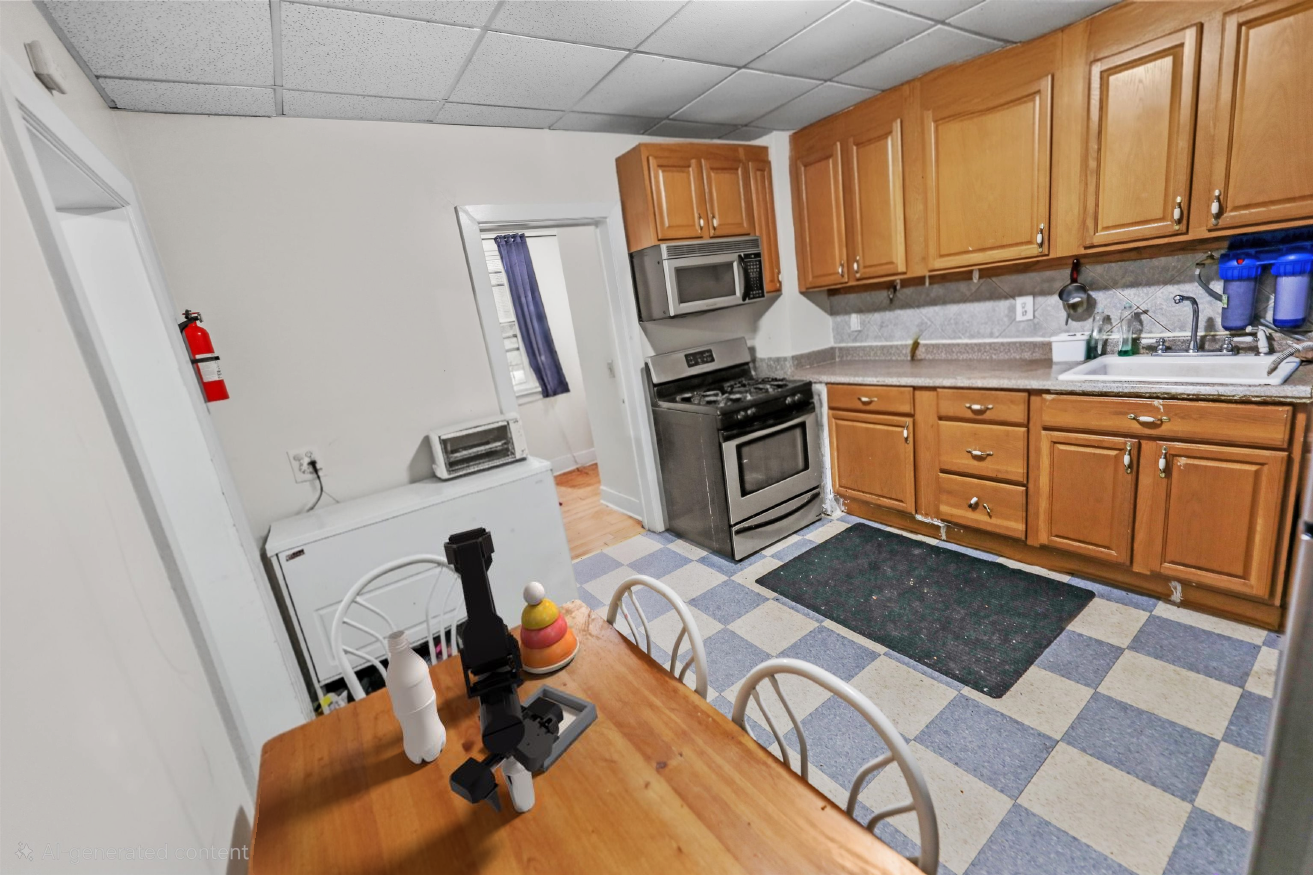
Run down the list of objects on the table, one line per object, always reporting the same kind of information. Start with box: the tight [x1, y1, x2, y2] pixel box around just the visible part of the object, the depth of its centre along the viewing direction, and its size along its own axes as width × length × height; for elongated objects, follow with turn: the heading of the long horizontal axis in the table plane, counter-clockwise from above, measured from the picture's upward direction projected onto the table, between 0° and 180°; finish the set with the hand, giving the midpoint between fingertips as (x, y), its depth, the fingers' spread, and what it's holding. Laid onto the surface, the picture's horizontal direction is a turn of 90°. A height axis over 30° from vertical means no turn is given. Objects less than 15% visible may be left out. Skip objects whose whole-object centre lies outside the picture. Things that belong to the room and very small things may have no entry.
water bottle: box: [385, 629, 447, 765], centre depth 98 cm, size 7×7×25 cm
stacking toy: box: [519, 581, 580, 675], centre depth 123 cm, size 14×14×20 cm
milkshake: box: [500, 756, 536, 813], centre depth 86 cm, size 4×5×10 cm
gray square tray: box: [520, 683, 599, 773], centre depth 102 cm, size 14×14×3 cm
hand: (520, 788), depth 87 cm, fingers open, 9 cm apart
